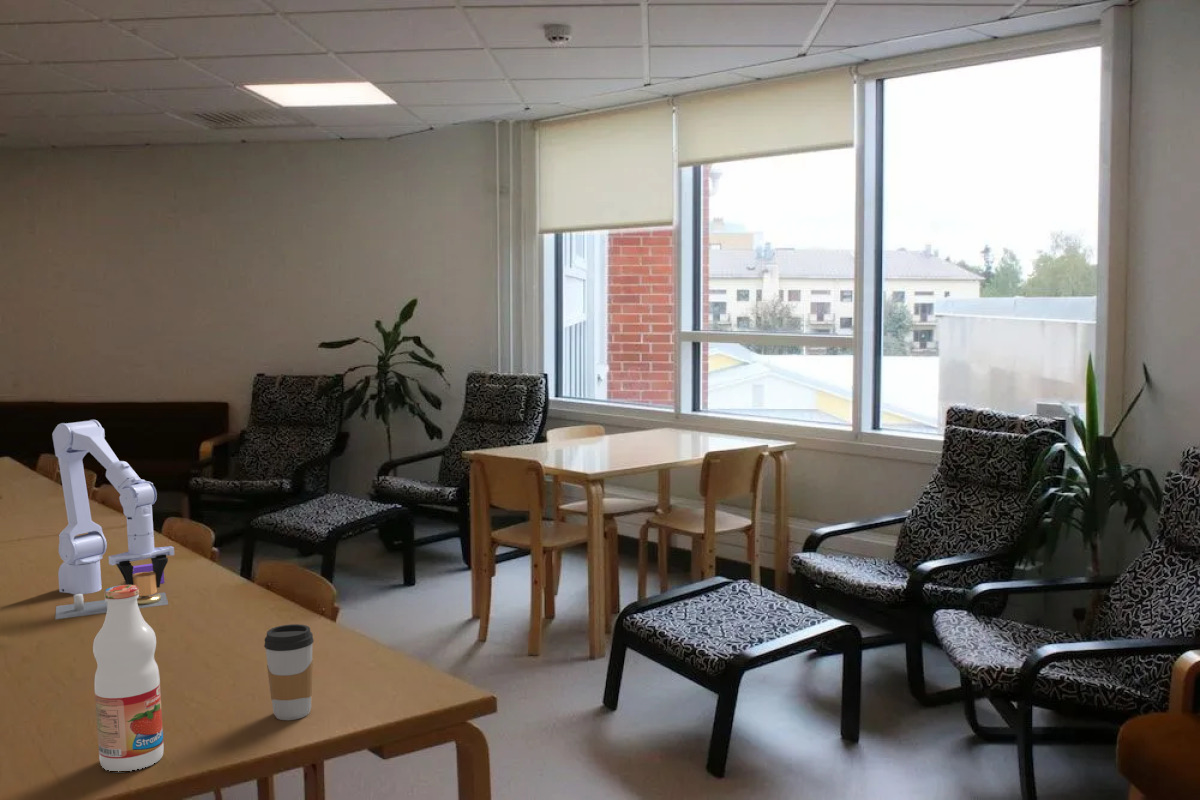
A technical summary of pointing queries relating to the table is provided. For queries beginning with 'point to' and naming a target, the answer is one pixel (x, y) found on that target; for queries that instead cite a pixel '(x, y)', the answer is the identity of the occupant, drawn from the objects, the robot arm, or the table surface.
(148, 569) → the bracket
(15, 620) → the table surface
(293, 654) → the coffee cup
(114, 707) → the fruit juice
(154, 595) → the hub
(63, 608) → the board
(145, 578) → the sleeve
